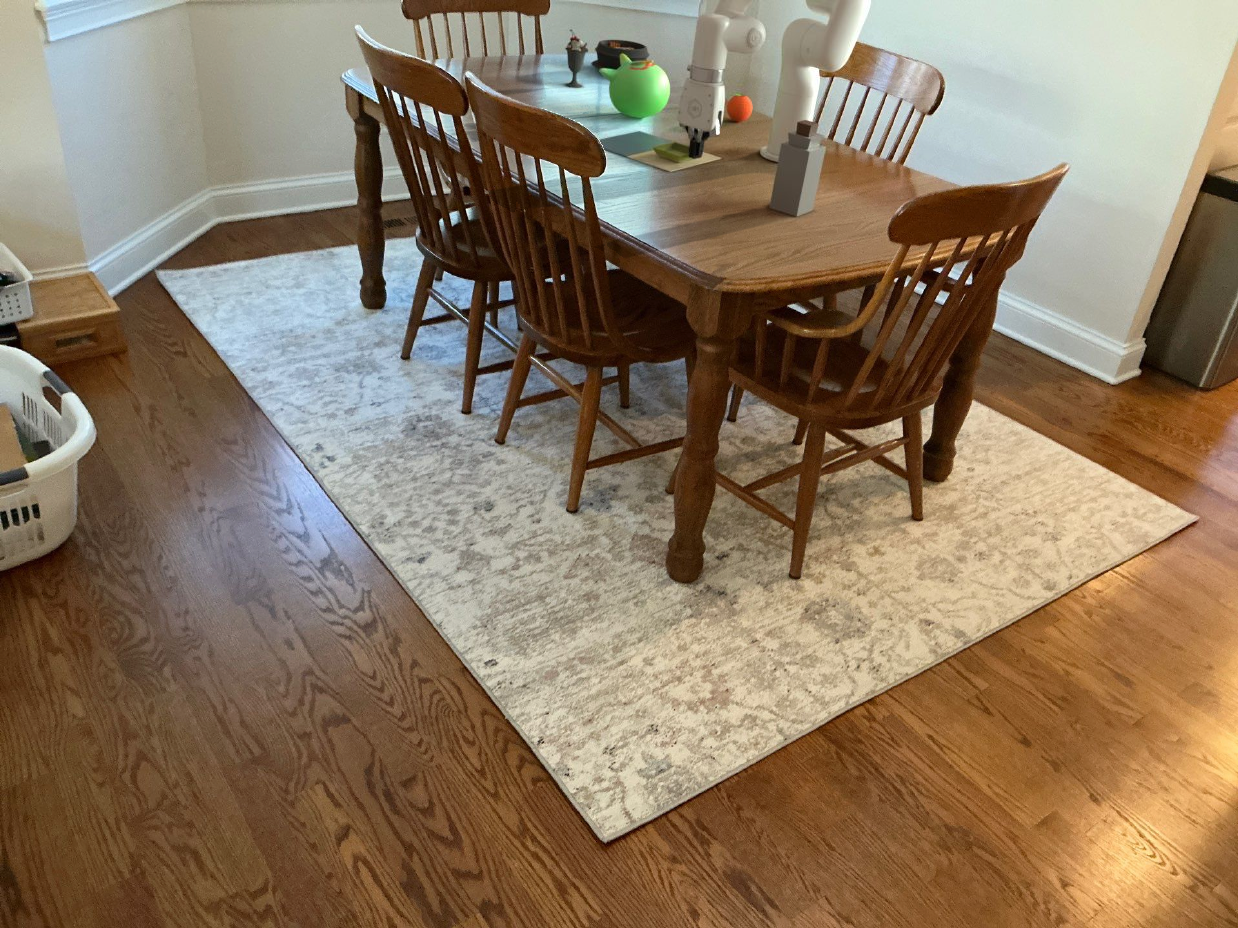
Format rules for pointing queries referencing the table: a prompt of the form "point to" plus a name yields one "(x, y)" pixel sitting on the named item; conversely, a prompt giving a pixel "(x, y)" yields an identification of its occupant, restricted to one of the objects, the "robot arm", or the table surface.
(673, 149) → the green square dish
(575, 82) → the sundae
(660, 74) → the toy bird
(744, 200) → the table surface
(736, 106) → the clementine
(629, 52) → the casserole
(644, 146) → the placemat
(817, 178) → the perfume bottle
